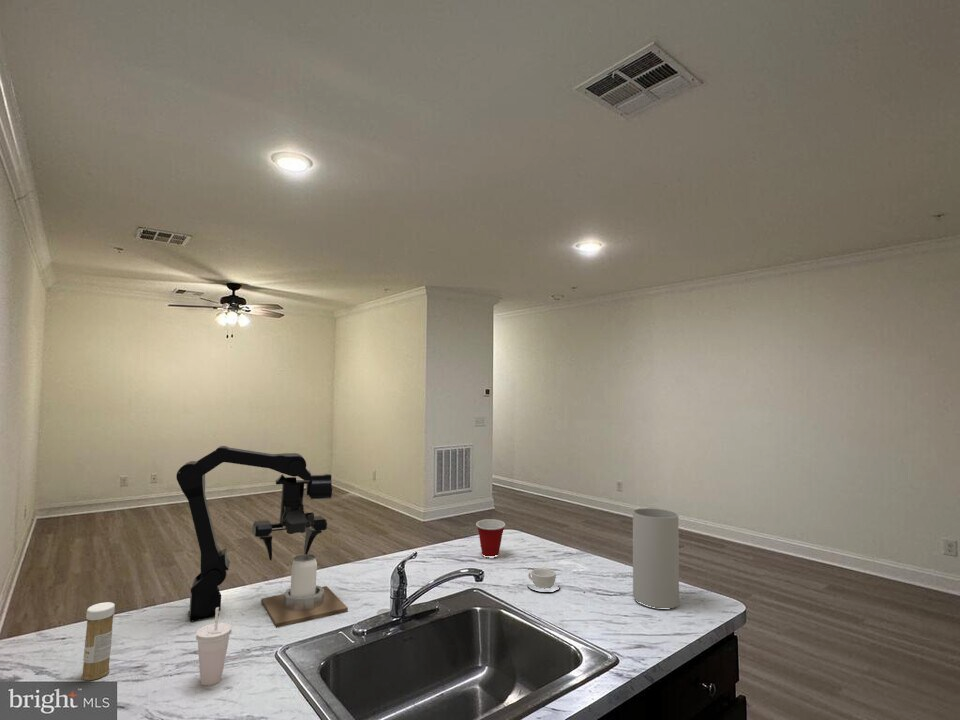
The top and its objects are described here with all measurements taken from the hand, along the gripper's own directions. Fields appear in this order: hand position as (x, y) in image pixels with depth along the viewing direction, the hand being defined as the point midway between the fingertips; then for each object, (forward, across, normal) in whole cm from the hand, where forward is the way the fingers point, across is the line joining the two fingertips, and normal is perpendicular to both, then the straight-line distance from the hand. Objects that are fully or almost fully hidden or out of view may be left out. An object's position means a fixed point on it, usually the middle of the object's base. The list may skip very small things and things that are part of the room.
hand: (288, 558), depth 138 cm
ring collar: (+12, +4, -4) cm, 13 cm away
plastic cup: (+11, +73, +7) cm, 74 cm away
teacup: (+11, +70, -26) cm, 75 cm away
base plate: (+12, +4, -4) cm, 13 cm away
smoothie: (+13, -20, -31) cm, 39 cm away
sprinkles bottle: (+13, -40, -17) cm, 45 cm away
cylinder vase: (+10, +91, -50) cm, 104 cm away
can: (+11, +4, -4) cm, 13 cm away
